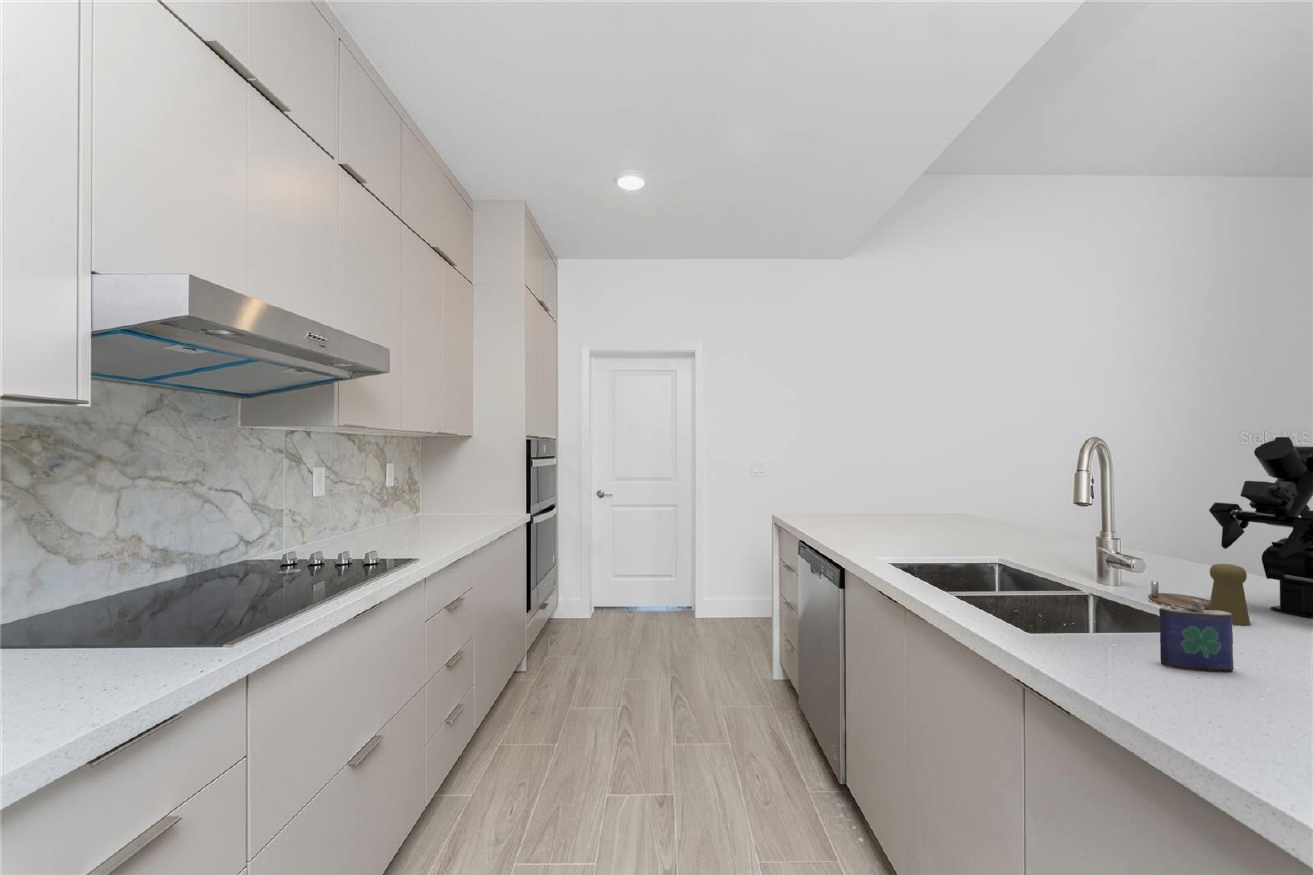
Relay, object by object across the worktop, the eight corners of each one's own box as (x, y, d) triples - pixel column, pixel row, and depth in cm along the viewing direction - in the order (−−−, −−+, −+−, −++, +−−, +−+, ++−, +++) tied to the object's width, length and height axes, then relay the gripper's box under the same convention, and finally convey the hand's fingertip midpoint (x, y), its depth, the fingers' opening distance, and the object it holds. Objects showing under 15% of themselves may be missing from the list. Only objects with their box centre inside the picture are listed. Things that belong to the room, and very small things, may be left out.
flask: (1227, 667, 91) (1226, 598, 91) (1240, 674, 88) (1239, 604, 88) (1156, 661, 94) (1155, 595, 94) (1166, 668, 91) (1166, 600, 91)
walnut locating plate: (1170, 594, 133) (1170, 576, 133) (1229, 608, 122) (1229, 587, 122) (1135, 599, 129) (1135, 579, 129) (1193, 613, 119) (1193, 592, 119)
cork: (1259, 625, 111) (1259, 568, 111) (1227, 625, 111) (1227, 568, 111) (1229, 616, 117) (1228, 561, 117) (1198, 616, 117) (1198, 561, 117)
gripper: (1214, 465, 126) (1176, 517, 123) (1332, 469, 108) (1291, 531, 105) (1241, 500, 128) (1204, 553, 125) (1362, 510, 109) (1322, 572, 107)
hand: (1250, 551), depth 115 cm, fingers open, 9 cm apart
